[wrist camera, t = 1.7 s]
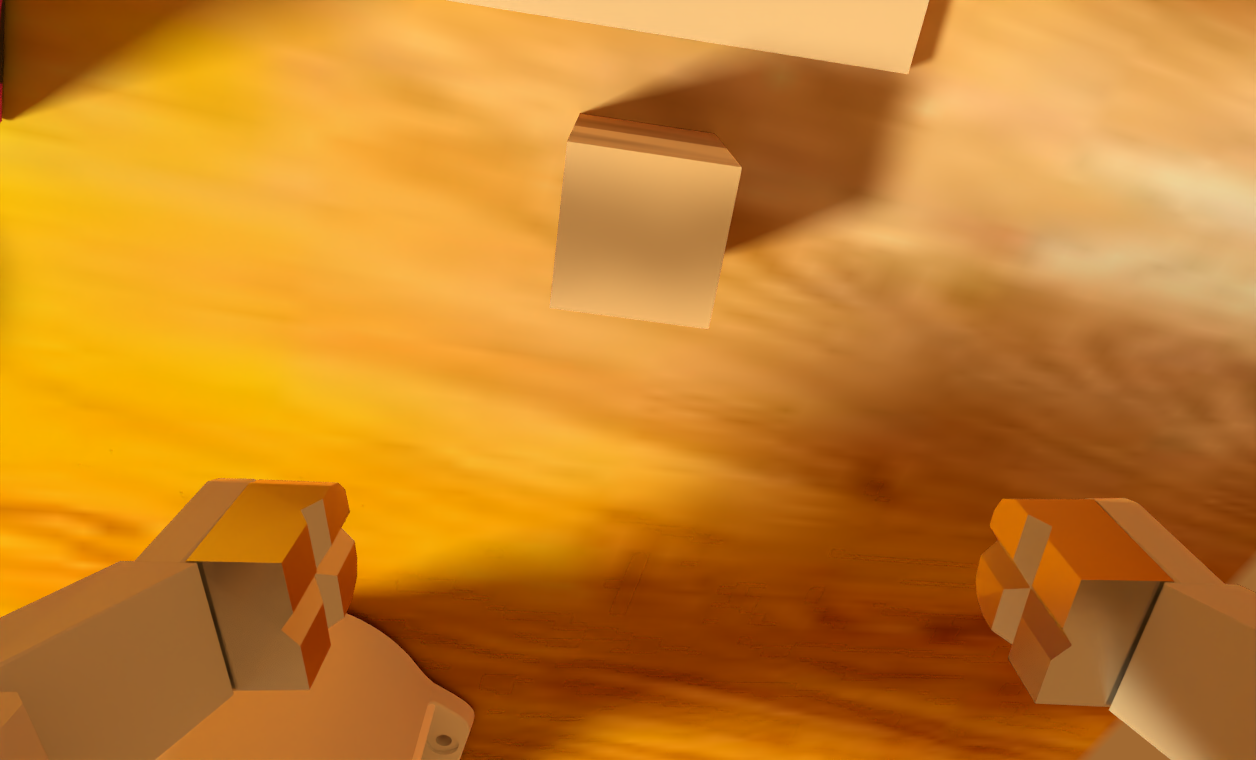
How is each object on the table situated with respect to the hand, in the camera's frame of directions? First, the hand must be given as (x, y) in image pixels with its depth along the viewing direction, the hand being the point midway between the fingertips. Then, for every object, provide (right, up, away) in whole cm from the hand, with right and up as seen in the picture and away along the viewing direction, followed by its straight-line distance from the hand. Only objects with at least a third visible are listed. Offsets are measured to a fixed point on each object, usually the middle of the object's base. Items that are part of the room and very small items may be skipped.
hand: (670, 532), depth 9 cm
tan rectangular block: (0, +9, +19) cm, 21 cm away
